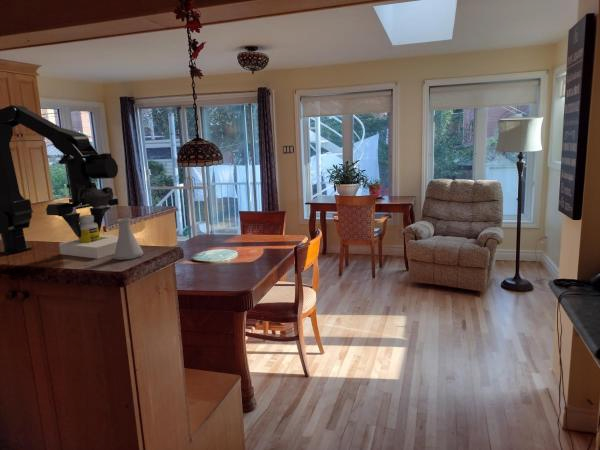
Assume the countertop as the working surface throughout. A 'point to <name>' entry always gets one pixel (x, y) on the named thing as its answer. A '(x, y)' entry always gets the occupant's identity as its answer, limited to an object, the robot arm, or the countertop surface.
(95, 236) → the supplement bottle
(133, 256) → the flask
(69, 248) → the block
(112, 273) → the countertop surface
